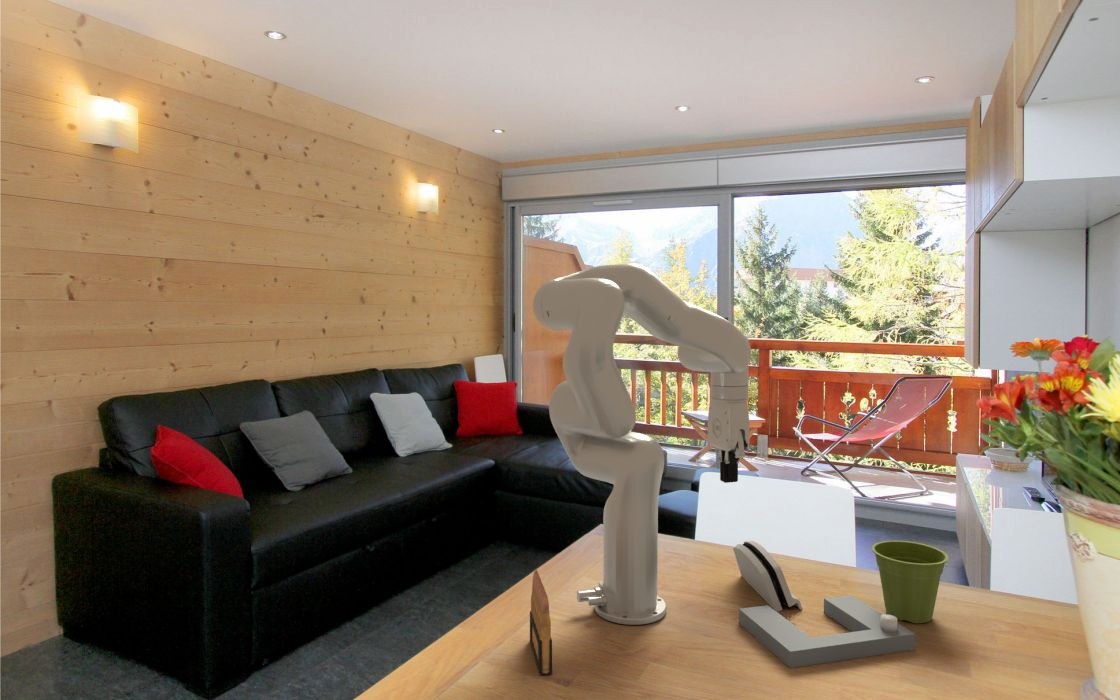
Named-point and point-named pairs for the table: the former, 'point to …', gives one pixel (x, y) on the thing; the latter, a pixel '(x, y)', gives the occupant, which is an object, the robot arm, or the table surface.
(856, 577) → the table surface
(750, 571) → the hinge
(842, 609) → the gray u-shaped block
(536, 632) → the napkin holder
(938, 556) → the plant pot
